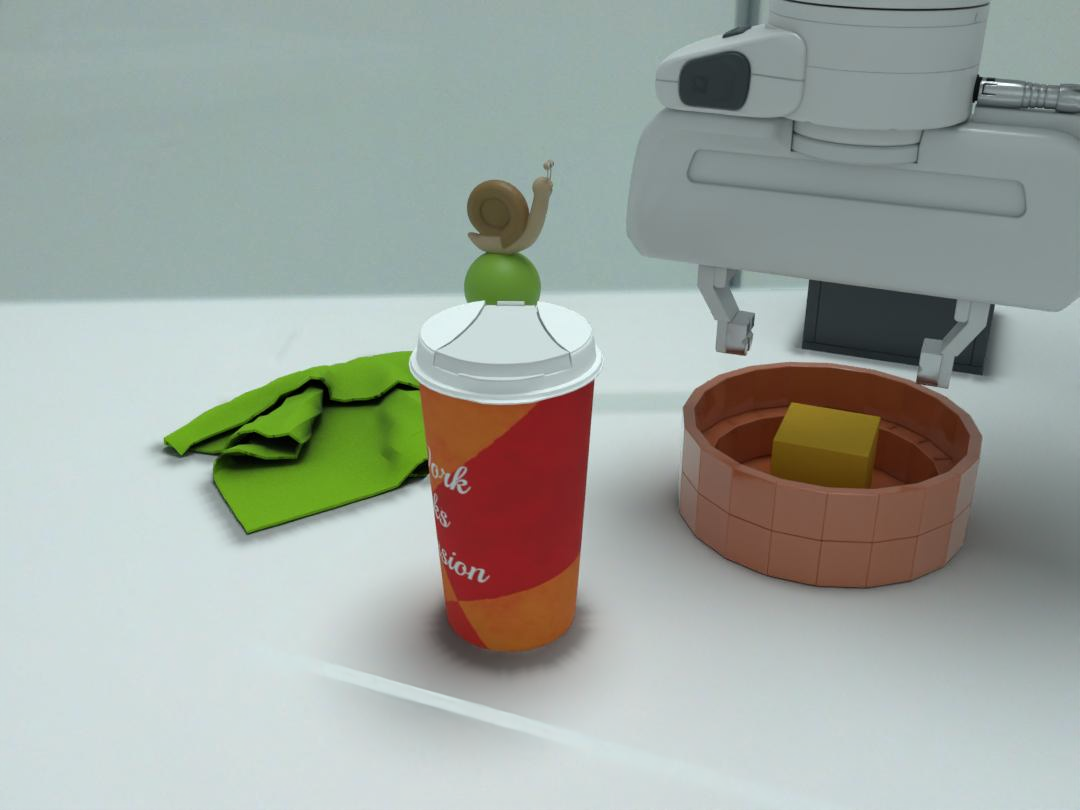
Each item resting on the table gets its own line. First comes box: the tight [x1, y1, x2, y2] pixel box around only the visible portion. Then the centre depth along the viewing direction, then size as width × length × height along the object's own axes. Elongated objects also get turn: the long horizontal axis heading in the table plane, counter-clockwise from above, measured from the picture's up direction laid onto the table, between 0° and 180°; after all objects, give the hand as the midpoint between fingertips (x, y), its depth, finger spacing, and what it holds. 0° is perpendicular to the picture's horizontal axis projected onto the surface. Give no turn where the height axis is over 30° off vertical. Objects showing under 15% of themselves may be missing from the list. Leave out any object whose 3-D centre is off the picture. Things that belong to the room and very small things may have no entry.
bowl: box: [677, 361, 984, 588], centre depth 58 cm, size 14×14×6 cm
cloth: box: [163, 350, 430, 534], centre depth 67 cm, size 20×22×2 cm
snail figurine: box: [463, 159, 555, 308], centre depth 80 cm, size 5×6×12 cm
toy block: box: [770, 402, 881, 489], centre depth 58 cm, size 4×4×4 cm
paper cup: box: [409, 300, 605, 652], centre depth 48 cm, size 8×8×14 cm
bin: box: [801, 279, 996, 376], centre depth 80 cm, size 12×12×7 cm
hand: (830, 366), depth 55 cm, fingers open, 8 cm apart
